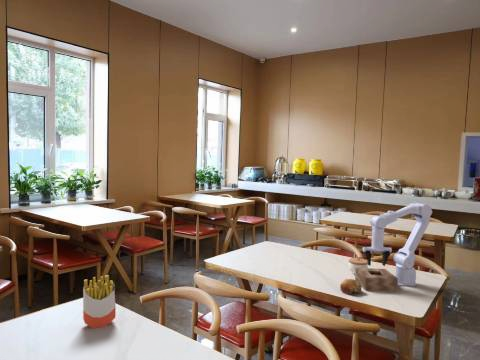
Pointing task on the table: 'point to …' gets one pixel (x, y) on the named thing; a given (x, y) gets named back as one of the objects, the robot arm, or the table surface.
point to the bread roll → (350, 287)
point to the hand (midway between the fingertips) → (376, 265)
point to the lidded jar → (357, 264)
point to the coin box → (376, 279)
